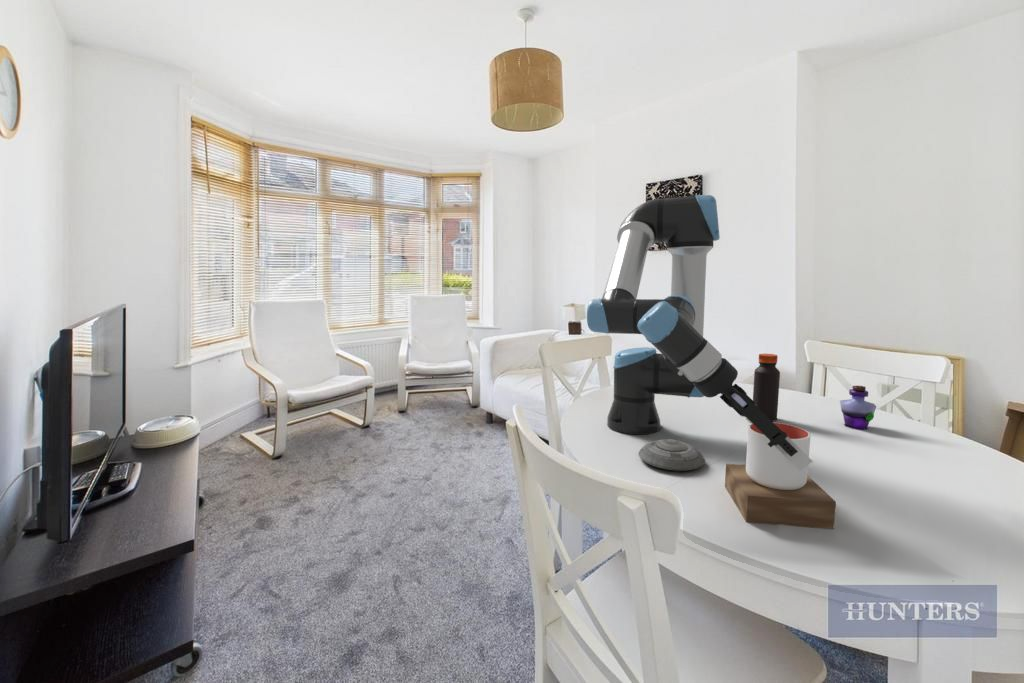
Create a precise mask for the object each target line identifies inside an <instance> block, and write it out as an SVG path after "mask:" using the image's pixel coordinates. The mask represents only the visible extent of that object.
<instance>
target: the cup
mask: <svg viewBox="0 0 1024 683" xmlns="http://www.w3.org/2000/svg"><path fill="white" fill-rule="evenodd" d="M773 423H774V424H775V425H776V426H777V427H778V428H779V429H781V430H782V431H783V432H785V433H786V435H787V436H788V437H789V438H790V439H791V440H792V441H793V442H794V443H795V444H796V445H797V446H798V447H799V448H800V449H801V450H802V451H803V452H804V453H805V454H806V455H807V456H808V457H809V458H810V445H811V433H810V432H809V431H807V430H806V429H804V428H802V427H798V426H795V425H791V424H787V423H783V422H782V423H781V422H776V421H773ZM746 442H747V443H746V444H747V445H746V460H745V465H746V473H747V475H748V476H749V477H750V478H751V479H752V480H753V481H755V482H756V483H758V484H760V485H763V486H766V487H769V488H773V489H778V490H796V489H799V488H801V487H803V486H804V485H805V484H806V482H807V475H808V473H809V472H808V471H809V465H807V466H806V467H805V468H803V469H802V470H801V471H799V470H798V469H797V468H796V467H795V466H794V465H793V464H792V463H791V462H790V461H789V460H788V459H787V458H786V457H785V456H784V455H783V454H782V453H781V452H780V451H779V450H778V449H777V448H776V447H775V446H774V445H773V446H772V447H770V446H769V445H768V443H769V442H770V440H769V439H768V438H767V437H766V436H765V435H764V434H763V433H762V432H761V431H760V430H759V429H758V428H757V427H756V426H755V425H754V424H753V423H752V424H750V423H749V425H748V427H747V441H746Z"/></svg>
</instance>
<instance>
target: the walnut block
mask: <svg viewBox="0 0 1024 683" xmlns="http://www.w3.org/2000/svg"><path fill="white" fill-rule="evenodd" d="M724 478H725V480H724V488H725V489H726V491H727V492H728V495H729V496H730V498H731V500H732V501H733V503H734V504H735V505H736V508H737V509H738V511H739V513H740V515H741V516H742V518H743V519H744V520H745V523H752V524H754V523H756V524H765V525H767V524H768V525H779V526H780V525H781V526H790V527H791V526H792V527H793V526H794V527H804V528H814V529H817V528H818V529H827V530H828V529H829V530H834V529H835V521H836V520H835V517H836V509H837V502H836V500H835V499H833V497H832V496H831V495H829V493H827V492H826V491H825V490H824V489H823V488H822V487H821V486H820V485H819V484H818V483H816V481H815V480H813V478H812V477H811V476H809V475H808V474H807V482H806V484H805V485H804V486H803V487H801V488H799V489H796V490H778V489H773V488H769V487H766V486H763V485H760V484H758V483H756V482H755V481H753V480H752V479H751V478H750V477H749V476H748V475H747V473H746V464H735V463H726V464H725V477H724Z"/></svg>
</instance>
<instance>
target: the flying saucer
mask: <svg viewBox="0 0 1024 683" xmlns="http://www.w3.org/2000/svg"><path fill="white" fill-rule="evenodd" d="M638 456H639V458H640V460H642V461H643V462H644V463H646V464H648V465H649V466H653V467H655V468H659V469H663V470H668V471H676V472H678V471H679V472H681V471H692V470H697V469H699V468H701V467H702V466H704V465H705V463H706V459H705V457H704V455H703V454H702V453H701V452H700V451H699V450H698V449H697V448H696V447H695V446H692V445H691V444H689V443H687V442H684V441H681V440H678V439H673V438H666V439H664V438H663V439H657V440H653V441H651V442H648V443H645V445H643V446H642V447H641V448H640V450H639V451H638Z"/></svg>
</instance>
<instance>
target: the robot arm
mask: <svg viewBox="0 0 1024 683" xmlns="http://www.w3.org/2000/svg"><path fill="white" fill-rule="evenodd" d="M719 227H720V225H719V217H718V206H717V199H716V197H715V196H713V195H710V194H694V195H688V196H687V195H684V196H675V197H663V198H654V199H650V200H647V201H645V202H644V203H641V204H639V205H638V206H637V207H635V208H634V209H633V210H631V212H630V213H629V214H627V215H626V217H625V218H624V220H623V221H622V222H621V224H620V225H619V228H618V231H617V235H616V240H617V242H618V244H617V247H616V252H615V255H614V258H613V262H612V264H611V267H610V271H609V274H608V278H607V279H606V280H607V281H606V284H605V288H604V290H603V294H602V297H601V298H600V297H599V298H596V299H595V298H594V299H591V300H590V301H589V302H588V303H587V304H588V305H587V307H586V323H587V327H588V328H589V330H590V332H594V333H603V334H623V335H624V334H627V335H628V334H629V335H630V334H632V335H643V337H645V339H646V341H647V342H649V343H650V344H652V345H653V347H648V346H646V347H645V346H643V347H634V348H633V347H632V348H626V349H622V350H619V351H618V352H617V353H616V354H615V355H614V362H613V363H614V364H613V401H612V403H611V406H610V408H609V412H608V415H607V422H606V423H607V426H608V428H609V429H611V430H612V431H616V432H619V433H622V434H631V435H648V434H653V433H656V432H658V431H660V429H661V418H660V415H659V412H658V409H657V406H656V403H655V397H656V396H655V395H663V396H664V395H665V396H675V397H685V398H704V397H706V398H709V399H710V398H713V397H716V396H718V395H720V394H721V395H720V396H719V398H720V399H721V400H722V401H723V402H724V403H725V404H726V405H727V406H728V407H730V408H732V409H733V410H734V411H735V412H736V413H737V414H738V415H739V416H740V417H742V418H743V417H744V418H745V420H746V421H747V422H748V423H749V425H750V424H752V423H753V424H754V425H755V426H756V427H757V428H758V429H759V430H760V431H761V432H762V433H763V434H764V435H765V436H766V437H767V438H768V439H769V440H770V442H769V443H768V445H769V446H770V447H772V446H773V445H774V446H775V447H776V448H777V449H778V450H779V451H780V452H781V453H782V454H783V455H784V456H785V457H786V458H787V459H788V460H789V461H790V462H791V463H792V464H793V465H794V466H795V467H796V468H797V469H798V470H799V471H801V470H802V469H803V468H805V467H806V466H807V465H808V466H809V465H810V464H812V463H813V462H814V461H813V459H811V458H810V456H809V457H808V456H807V455H806V454H805V453H804V452H803V451H802V450H801V449H800V448H799V447H798V446H797V445H796V444H795V443H794V442H793V441H792V440H791V439H790V438H789V437H788V436H787V435H786V433H785V432H783V431H782V430H781V429H779V428H778V427H777V426H776V425H775V424H774V423H773V422H774V421H773V422H772V421H771V420H770V419H769V418H768V417H767V416H766V415H765V414H764V413H763V412H762V411H761V410H759V409H758V408H757V406H756V403H755V402H754V401H753V398H751V397H750V396H749V395H748V394H747V392H746V391H745V390H744V389H743V388H742V387H741V386H739V384H737V383H734V382H735V381H736V379H737V378H738V373H739V372H738V370H737V369H736V367H735V366H733V365H732V364H731V363H730V362H729V361H728V360H727V359H726V358H724V357H723V356H722V353H720V351H719V350H717V348H715V346H713V345H712V343H710V341H708V340H707V339H706V338H705V337H704V328H705V327H704V325H705V324H704V322H705V302H706V301H705V299H706V278H707V276H706V275H707V257H708V256H707V255H708V253H709V252H710V251H711V250H712V249H713V248H714V241H715V242H717V241H718V240H720V238H721V237H720V229H719ZM657 243H659V244H662V243H664V244H665V243H666V250H667V251H668V252H669V253H670V254H671V284H670V286H671V287H670V290H671V291H670V295H669V296H667V297H665V298H664V299H659V298H657V299H656V298H655V299H651V298H650V299H643V298H641V299H639V298H638V293H639V291H640V290H639V289H640V285H641V280H642V277H643V272H644V266H645V264H646V263H645V262H646V258H647V255H648V251H649V249H650V248H652V246H653V244H657ZM637 298H638V299H637ZM658 351H659V352H660V353H657V352H658ZM733 383H734V384H733Z"/></svg>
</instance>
